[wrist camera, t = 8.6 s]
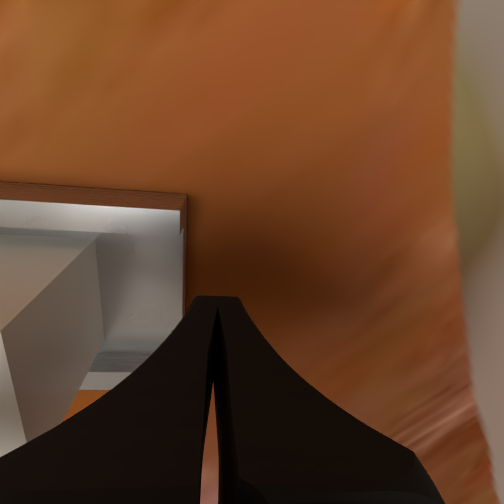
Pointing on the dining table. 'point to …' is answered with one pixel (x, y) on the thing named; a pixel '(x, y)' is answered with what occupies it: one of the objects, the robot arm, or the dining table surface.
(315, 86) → the dining table surface
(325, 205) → the dining table surface
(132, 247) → the rail
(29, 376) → the module
